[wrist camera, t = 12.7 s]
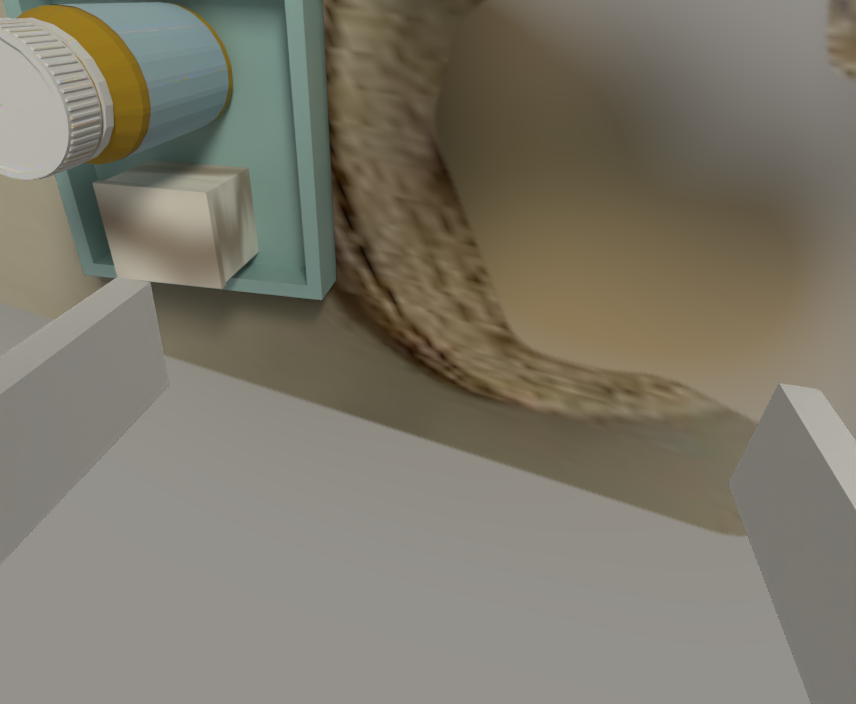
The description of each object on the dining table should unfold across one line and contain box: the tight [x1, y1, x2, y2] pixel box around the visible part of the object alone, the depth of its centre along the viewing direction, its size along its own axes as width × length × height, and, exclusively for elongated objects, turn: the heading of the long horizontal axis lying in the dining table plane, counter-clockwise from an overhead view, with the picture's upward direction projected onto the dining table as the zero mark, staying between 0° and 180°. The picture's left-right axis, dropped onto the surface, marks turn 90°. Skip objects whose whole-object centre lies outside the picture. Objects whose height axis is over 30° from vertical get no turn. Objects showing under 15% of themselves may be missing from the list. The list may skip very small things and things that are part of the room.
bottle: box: [0, 2, 233, 180], centre depth 30 cm, size 7×7×15 cm
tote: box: [3, 0, 337, 300], centre depth 38 cm, size 20×18×4 cm
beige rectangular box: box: [93, 160, 259, 289], centre depth 39 cm, size 6×7×6 cm
